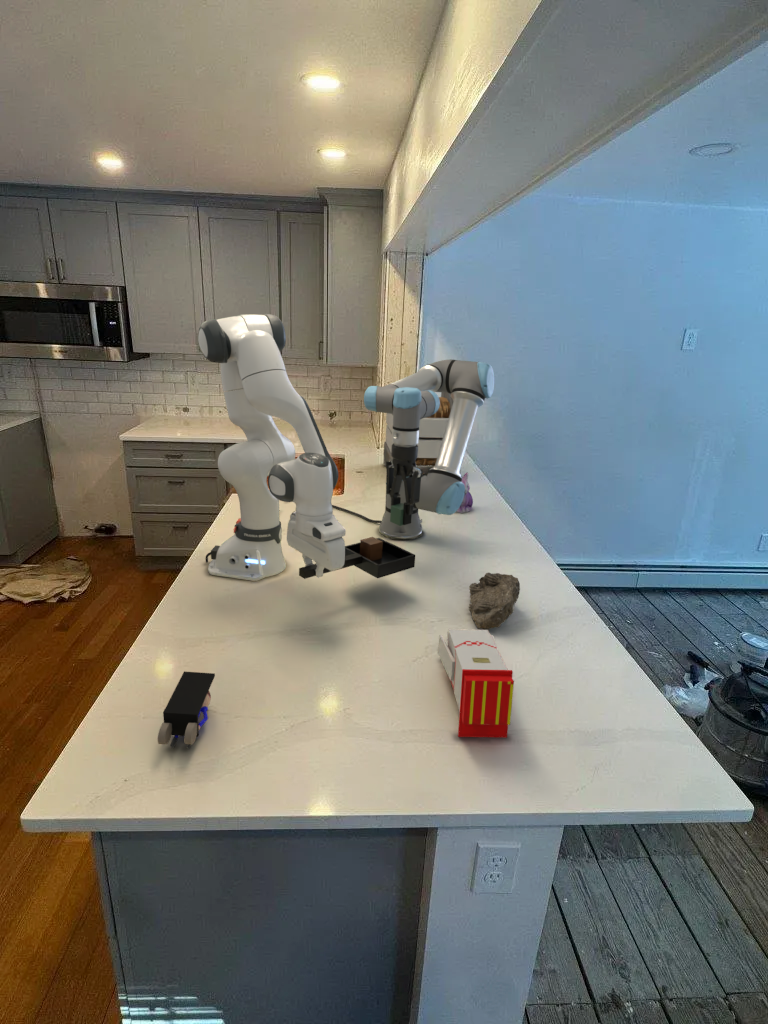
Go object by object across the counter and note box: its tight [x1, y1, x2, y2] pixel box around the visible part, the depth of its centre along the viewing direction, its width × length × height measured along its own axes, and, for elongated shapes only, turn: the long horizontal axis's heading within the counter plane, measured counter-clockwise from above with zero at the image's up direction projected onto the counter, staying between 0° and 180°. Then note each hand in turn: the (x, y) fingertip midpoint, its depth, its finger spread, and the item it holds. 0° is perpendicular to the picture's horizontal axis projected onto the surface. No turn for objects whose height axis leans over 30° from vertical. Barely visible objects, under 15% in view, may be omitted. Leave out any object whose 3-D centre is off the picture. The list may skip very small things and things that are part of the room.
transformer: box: [383, 392, 462, 475], centre depth 268 cm, size 34×33×41 cm
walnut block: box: [359, 536, 383, 561], centre depth 156 cm, size 4×4×5 cm
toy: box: [437, 628, 515, 738], centre depth 117 cm, size 12×13×30 cm
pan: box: [298, 537, 416, 580], centre depth 148 cm, size 15×31×4 cm, turn 131°
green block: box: [390, 503, 404, 526], centre depth 167 cm, size 4×4×5 cm
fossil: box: [468, 572, 521, 630], centre depth 149 cm, size 22×10×15 cm
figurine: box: [455, 472, 474, 514], centre depth 225 cm, size 9×10×15 cm
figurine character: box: [157, 670, 216, 749], centre depth 104 cm, size 7×8×15 cm
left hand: (314, 573), depth 141 cm, fingers closed on pan, 2 cm apart
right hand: (401, 521), depth 168 cm, fingers closed on green block, 4 cm apart
